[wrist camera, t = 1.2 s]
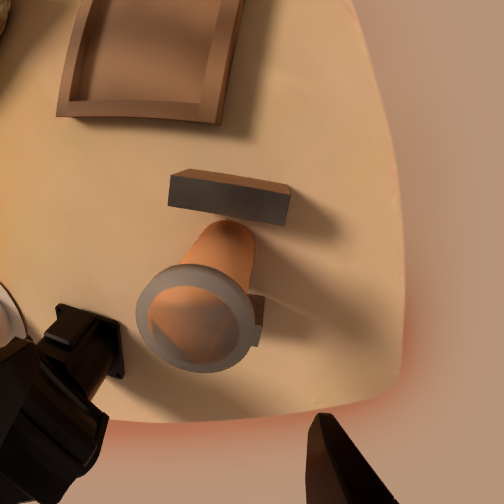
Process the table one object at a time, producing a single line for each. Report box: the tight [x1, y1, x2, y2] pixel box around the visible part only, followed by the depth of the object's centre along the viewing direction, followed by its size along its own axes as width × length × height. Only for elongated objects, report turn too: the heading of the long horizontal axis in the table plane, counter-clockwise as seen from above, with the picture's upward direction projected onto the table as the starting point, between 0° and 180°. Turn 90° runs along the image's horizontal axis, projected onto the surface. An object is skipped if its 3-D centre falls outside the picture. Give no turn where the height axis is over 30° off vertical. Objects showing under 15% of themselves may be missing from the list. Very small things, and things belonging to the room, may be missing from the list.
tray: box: [56, 0, 245, 125], centre depth 14 cm, size 11×11×2 cm
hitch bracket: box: [168, 169, 291, 347], centre depth 18 cm, size 9×6×4 cm, turn 171°
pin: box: [136, 220, 255, 373], centre depth 15 cm, size 5×5×9 cm
